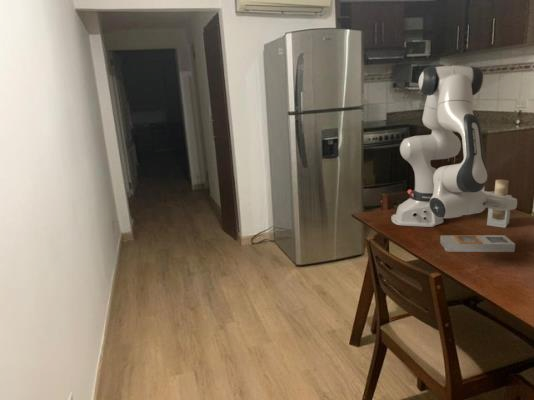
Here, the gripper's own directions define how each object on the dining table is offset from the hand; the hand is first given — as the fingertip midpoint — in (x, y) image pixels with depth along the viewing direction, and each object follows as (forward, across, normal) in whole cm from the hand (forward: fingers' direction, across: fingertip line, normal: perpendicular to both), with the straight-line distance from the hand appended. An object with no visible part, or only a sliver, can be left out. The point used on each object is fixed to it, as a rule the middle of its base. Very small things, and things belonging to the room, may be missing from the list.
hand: (502, 195), depth 141 cm
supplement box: (+21, +18, +20) cm, 34 cm away
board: (-7, +3, +20) cm, 21 cm away
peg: (-1, 0, +8) cm, 8 cm away
